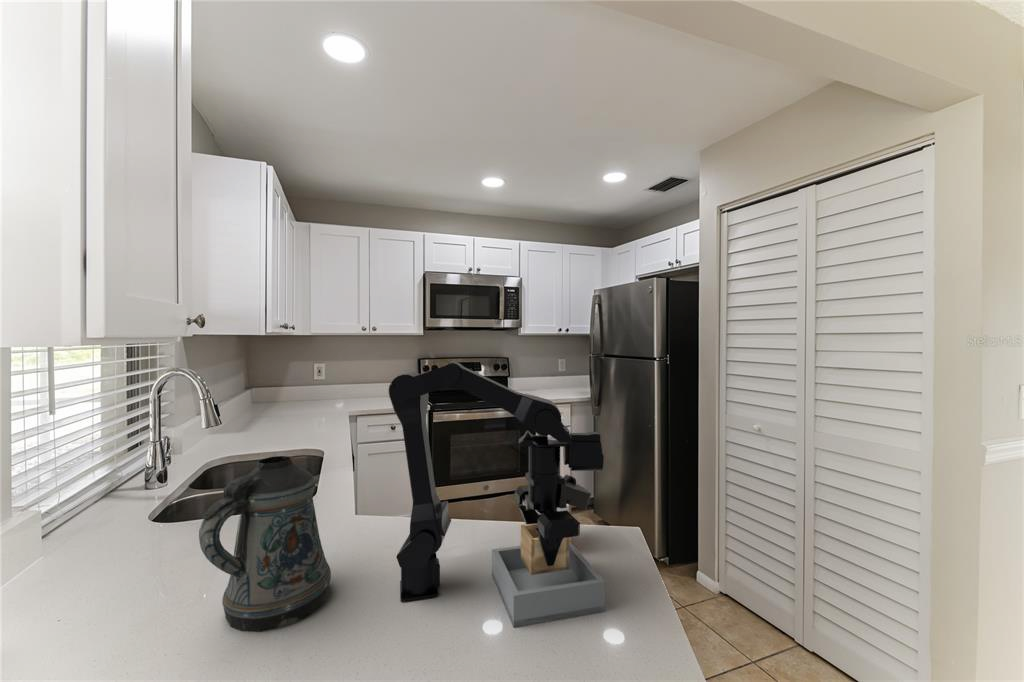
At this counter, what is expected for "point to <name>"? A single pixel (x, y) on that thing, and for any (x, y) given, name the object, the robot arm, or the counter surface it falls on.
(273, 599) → the beer stein
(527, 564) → the oak crate
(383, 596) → the counter surface
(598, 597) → the slate gray crate
